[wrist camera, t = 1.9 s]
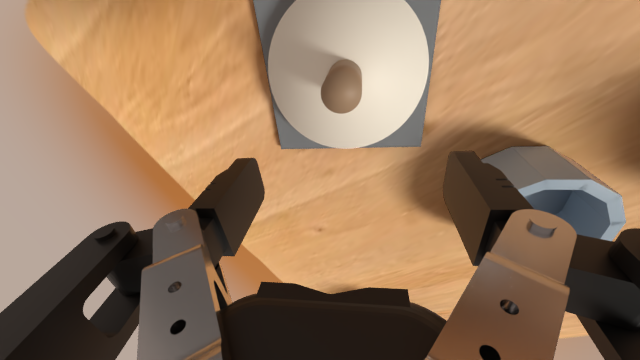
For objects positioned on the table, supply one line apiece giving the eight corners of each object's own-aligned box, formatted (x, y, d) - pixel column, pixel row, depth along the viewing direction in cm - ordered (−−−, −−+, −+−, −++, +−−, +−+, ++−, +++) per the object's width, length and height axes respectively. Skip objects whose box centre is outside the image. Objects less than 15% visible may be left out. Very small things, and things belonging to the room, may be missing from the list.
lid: (256, -10, 21) (223, -15, 16) (438, -33, 19) (465, -47, 14) (285, 145, 29) (268, 175, 24) (416, 141, 27) (429, 174, 21)
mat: (252, -16, 21) (249, -17, 21) (444, -42, 19) (446, -43, 19) (282, 146, 30) (281, 149, 29) (419, 144, 27) (420, 146, 27)
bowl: (464, 147, 27) (487, 179, 22) (599, 145, 25) (658, 179, 20) (444, 231, 33) (458, 270, 28) (549, 234, 31) (584, 277, 26)
